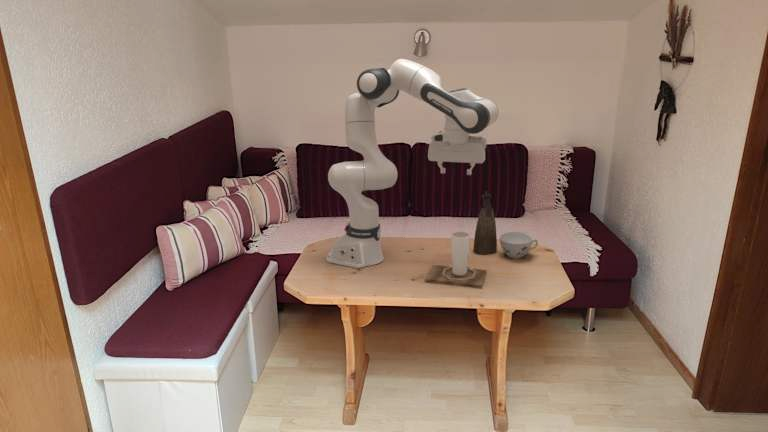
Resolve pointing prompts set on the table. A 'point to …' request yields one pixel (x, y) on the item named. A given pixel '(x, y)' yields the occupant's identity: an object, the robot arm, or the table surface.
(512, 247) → the teacup
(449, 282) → the walnut board
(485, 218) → the statue
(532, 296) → the table surface
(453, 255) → the drinking glass
